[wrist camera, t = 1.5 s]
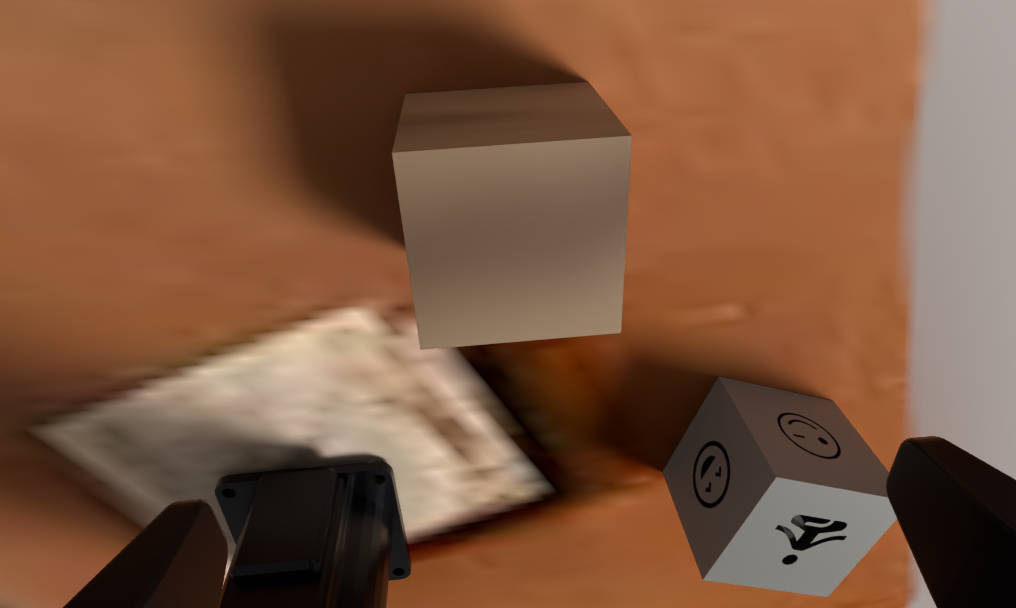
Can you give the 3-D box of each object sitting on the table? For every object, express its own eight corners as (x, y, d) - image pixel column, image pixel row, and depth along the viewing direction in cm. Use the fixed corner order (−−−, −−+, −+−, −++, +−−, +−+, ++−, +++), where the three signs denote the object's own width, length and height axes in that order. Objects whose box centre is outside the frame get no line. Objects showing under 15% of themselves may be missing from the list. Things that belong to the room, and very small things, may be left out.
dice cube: (832, 399, 25) (911, 501, 20) (768, 489, 27) (827, 597, 23) (717, 374, 24) (776, 477, 19) (661, 470, 26) (703, 580, 22)
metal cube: (584, 243, 20) (620, 332, 16) (426, 256, 20) (420, 349, 16) (587, 80, 18) (631, 135, 13) (405, 92, 17) (391, 152, 13)
